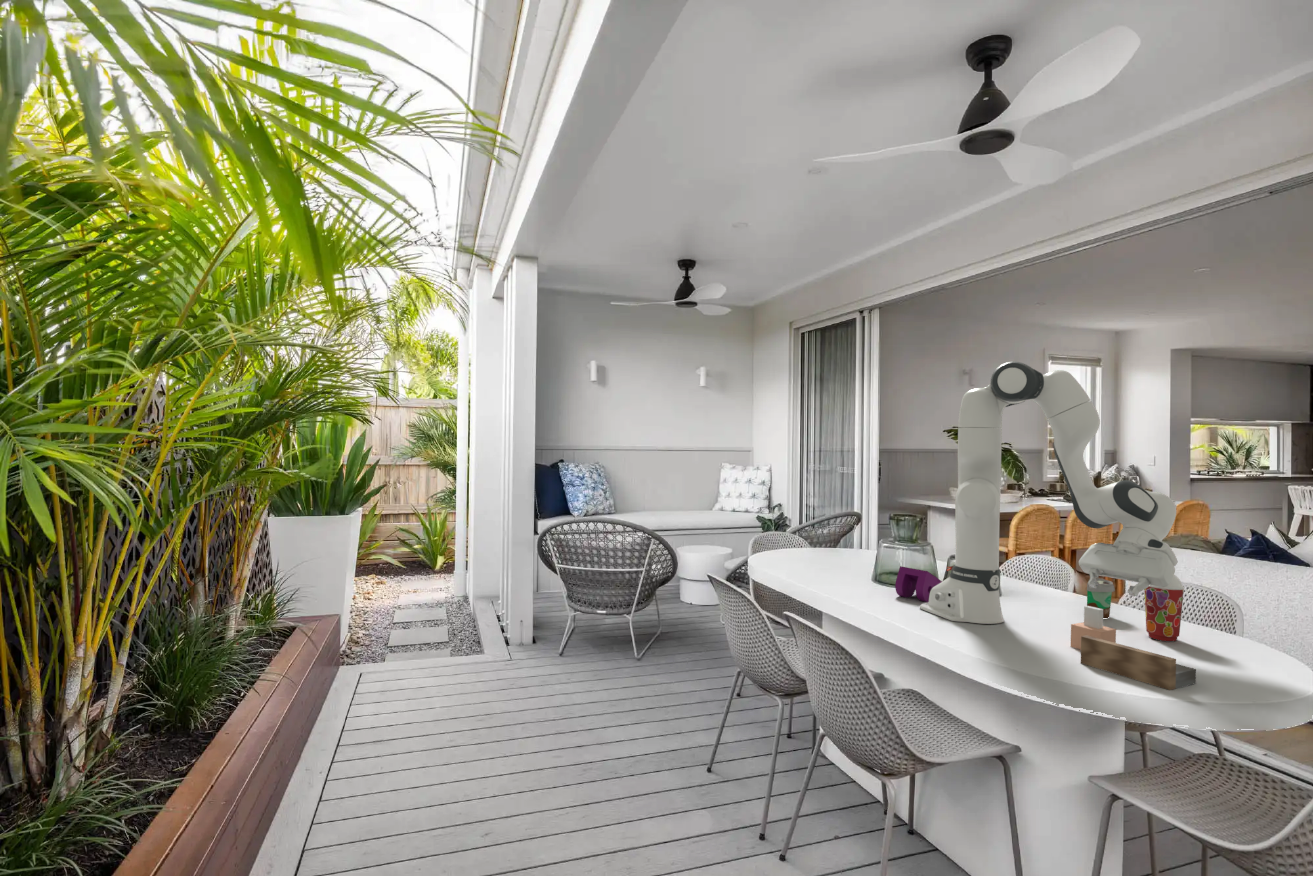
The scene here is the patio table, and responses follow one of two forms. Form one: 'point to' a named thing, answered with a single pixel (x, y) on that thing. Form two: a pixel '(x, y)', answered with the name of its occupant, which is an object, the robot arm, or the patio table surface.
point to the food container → (1101, 596)
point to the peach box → (1091, 627)
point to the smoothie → (1164, 610)
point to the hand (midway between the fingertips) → (1111, 590)
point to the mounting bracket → (915, 583)
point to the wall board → (1135, 663)
